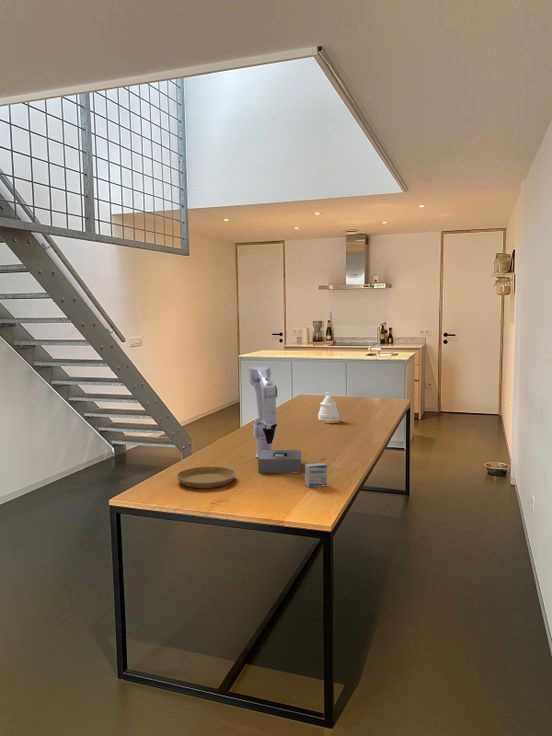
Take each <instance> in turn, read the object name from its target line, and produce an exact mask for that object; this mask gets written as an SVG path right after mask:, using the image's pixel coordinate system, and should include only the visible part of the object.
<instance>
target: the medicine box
mask: <svg viewBox="0 0 552 736" xmlns="http://www.w3.org/2000/svg"><path fill="white" fill-rule="evenodd" d="M304 484H305V486H306V485H307V486H306V487H308V488H309V487H313V486H322V485H327V486H328V465H327V464H326V463H325V462H317V463H315V462H314V463H305V464H304ZM322 487H323V486H322ZM313 488H314V487H313Z"/></svg>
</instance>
